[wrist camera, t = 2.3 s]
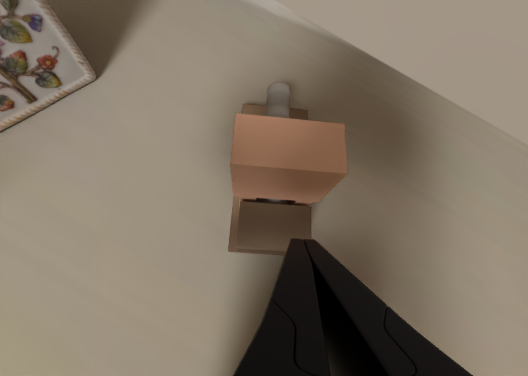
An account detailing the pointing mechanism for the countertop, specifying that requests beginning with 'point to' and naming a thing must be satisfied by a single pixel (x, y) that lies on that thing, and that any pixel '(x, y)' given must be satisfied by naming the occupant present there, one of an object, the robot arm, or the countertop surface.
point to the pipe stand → (269, 210)
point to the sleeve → (286, 158)
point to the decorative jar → (36, 60)
